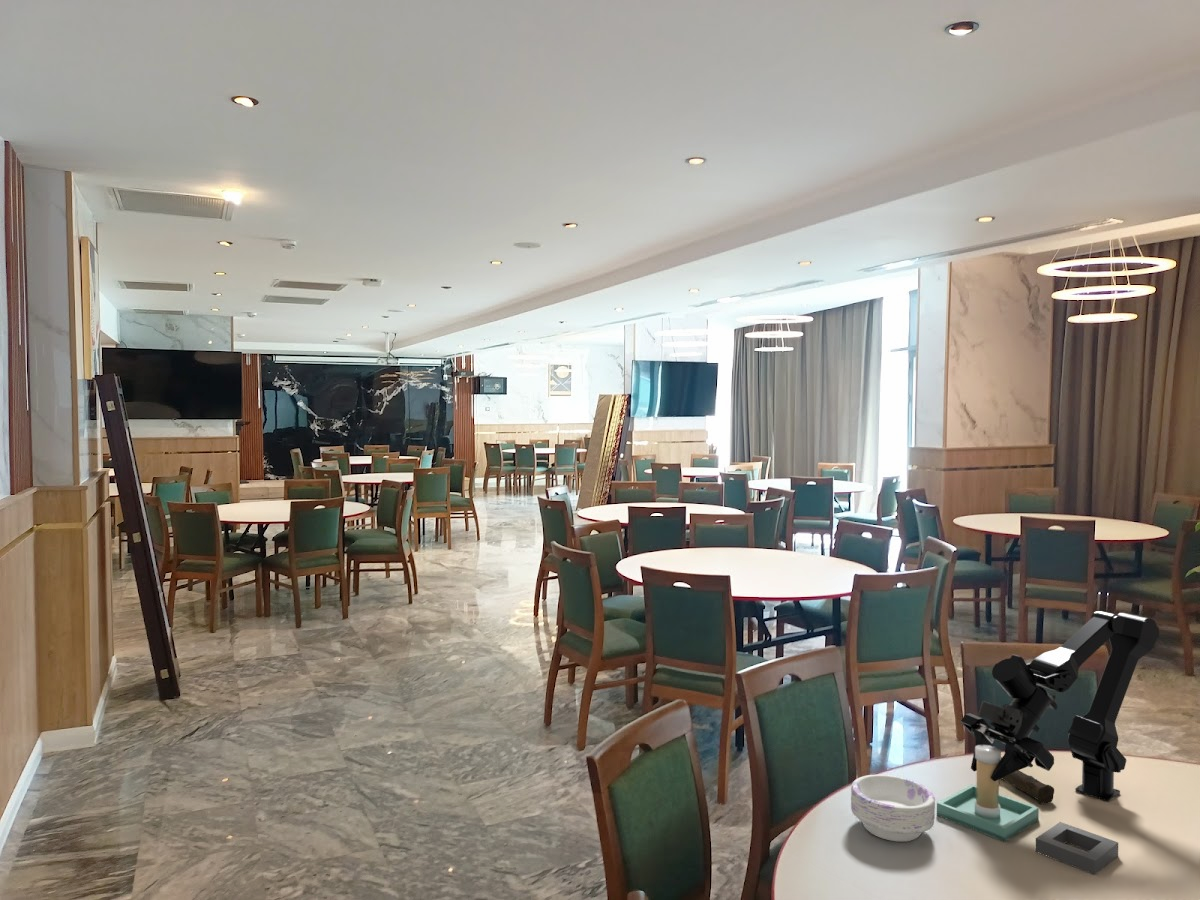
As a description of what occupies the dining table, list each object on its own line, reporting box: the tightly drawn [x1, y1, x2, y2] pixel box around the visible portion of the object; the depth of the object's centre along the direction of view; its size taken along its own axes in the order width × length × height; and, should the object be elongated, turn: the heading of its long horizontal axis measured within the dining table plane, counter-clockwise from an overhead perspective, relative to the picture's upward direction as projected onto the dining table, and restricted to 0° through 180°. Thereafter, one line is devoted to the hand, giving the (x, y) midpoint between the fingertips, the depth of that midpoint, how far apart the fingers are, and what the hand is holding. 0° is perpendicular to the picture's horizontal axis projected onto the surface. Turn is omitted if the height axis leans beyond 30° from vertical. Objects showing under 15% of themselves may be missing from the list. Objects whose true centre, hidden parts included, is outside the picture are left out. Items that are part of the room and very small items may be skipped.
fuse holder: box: [1035, 821, 1119, 876], centre depth 152 cm, size 10×10×2 cm
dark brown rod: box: [1001, 756, 1055, 805], centre depth 181 cm, size 19×4×5 cm, turn 13°
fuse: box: [974, 745, 1002, 819], centre depth 165 cm, size 5×5×13 cm
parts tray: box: [936, 784, 1040, 843], centre depth 166 cm, size 14×14×2 cm
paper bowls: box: [850, 774, 936, 843], centre depth 161 cm, size 15×15×8 cm
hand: (982, 774), depth 165 cm, fingers open, 5 cm apart
